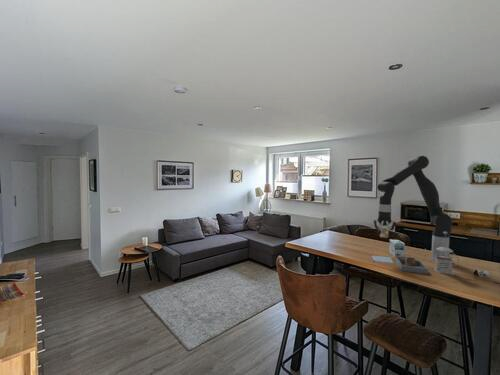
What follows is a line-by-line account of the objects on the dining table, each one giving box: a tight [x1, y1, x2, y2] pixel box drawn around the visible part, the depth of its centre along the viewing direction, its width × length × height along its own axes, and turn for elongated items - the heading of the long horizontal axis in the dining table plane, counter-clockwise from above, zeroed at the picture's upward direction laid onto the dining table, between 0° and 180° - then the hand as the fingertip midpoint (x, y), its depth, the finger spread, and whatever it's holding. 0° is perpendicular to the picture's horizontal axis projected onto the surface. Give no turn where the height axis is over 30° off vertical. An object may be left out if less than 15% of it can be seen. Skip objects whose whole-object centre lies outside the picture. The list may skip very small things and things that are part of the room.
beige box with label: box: [379, 226, 389, 239], centre depth 163 cm, size 4×4×6 cm
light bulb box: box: [388, 239, 406, 258], centre depth 175 cm, size 11×7×11 cm, turn 169°
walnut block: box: [404, 254, 416, 267], centre depth 153 cm, size 4×4×6 cm
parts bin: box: [395, 257, 429, 275], centre depth 149 cm, size 14×16×4 cm
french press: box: [434, 232, 460, 276], centre depth 143 cm, size 10×12×25 cm
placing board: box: [371, 255, 394, 264], centre depth 165 cm, size 12×12×1 cm
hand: (383, 235), depth 164 cm, fingers closed on beige box with label, 4 cm apart
